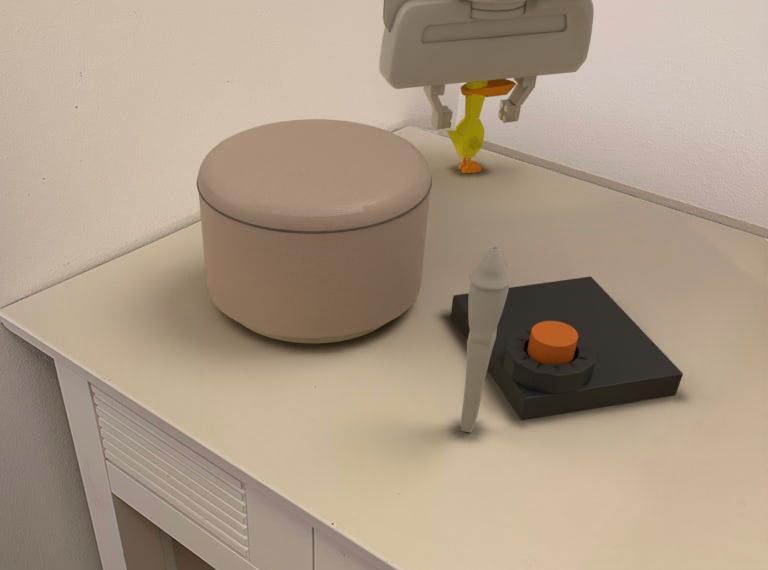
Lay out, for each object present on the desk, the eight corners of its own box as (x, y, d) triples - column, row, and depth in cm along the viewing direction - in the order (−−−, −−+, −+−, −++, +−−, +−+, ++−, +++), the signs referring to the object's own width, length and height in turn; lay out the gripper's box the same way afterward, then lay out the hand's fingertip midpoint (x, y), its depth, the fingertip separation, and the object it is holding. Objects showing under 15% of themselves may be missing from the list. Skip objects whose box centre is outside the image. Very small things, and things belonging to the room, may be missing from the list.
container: (462, 287, 75) (480, 151, 67) (325, 383, 66) (327, 237, 58) (304, 224, 84) (303, 97, 76) (162, 299, 75) (145, 163, 67)
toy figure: (492, 159, 95) (513, 38, 87) (507, 172, 92) (530, 49, 84) (434, 165, 93) (449, 43, 85) (448, 179, 91) (464, 55, 83)
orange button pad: (586, 296, 74) (595, 258, 72) (676, 395, 64) (690, 355, 62) (449, 315, 72) (454, 277, 70) (520, 420, 62) (528, 380, 60)
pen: (445, 436, 61) (469, 252, 51) (453, 413, 63) (478, 231, 53) (481, 444, 60) (513, 259, 51) (488, 421, 62) (521, 237, 53)
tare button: (561, 338, 64) (565, 317, 63) (581, 363, 62) (586, 342, 61) (519, 344, 64) (523, 323, 62) (538, 370, 61) (543, 348, 60)
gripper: (396, -13, 76) (385, 146, 85) (614, -30, 79) (581, 125, 89) (374, -32, 81) (367, 122, 90) (581, -47, 84) (553, 103, 93)
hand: (474, 123), depth 89 cm, fingers closed on toy figure, 6 cm apart
